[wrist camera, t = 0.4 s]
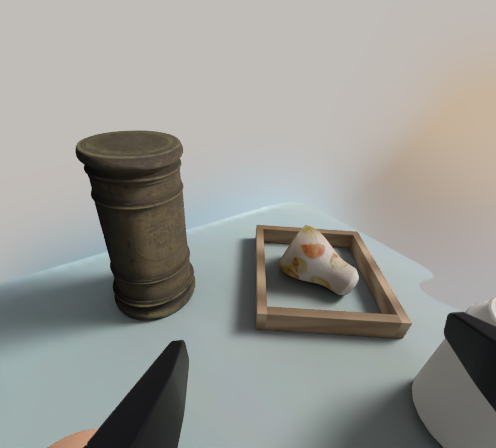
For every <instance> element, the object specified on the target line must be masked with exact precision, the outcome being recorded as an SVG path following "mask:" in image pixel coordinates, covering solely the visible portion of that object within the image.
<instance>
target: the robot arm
mask: <svg viewBox="0 0 496 448" xmlns="http://www.w3.org/2000/svg"><path fill="white" fill-rule="evenodd" d="M444 335H445V338H446V340H447V341H448V343H449V345H450V346H451V348H452V349H453V351H454V352H455V354H456V356H457V357H458V359H459V360H460V362H461V363H462V365H463V367H464V368H465V370H466V371H467V373H468V374H469V376H470V378H471V379H472V381H473V382H474V384H475V385H476V386H477V388H478V389H479V391H480V392H481V393H482V395H483V396H484V397H485V399H486V400H487V401H488V402H489V404H490V405H491V406H492V408H493V409H494V410H495V412H496V326H494V325H492V324H489V323H487V322H485V321H483V320H480V319H478V318H476V317H474V316H472V315H469V314H467V313H465V312H453V313H449V314H448V316H447V320H446V324H445V328H444ZM188 369H189V357H188V353H187V349H186V345H185V342H184V341H183V340H178V341H172V342H171V343H170V344H169V345H168V346H167V347H166V348H165V350H164V351H163V352H162V353H161V354H160V356H159V357H158V358H157V359H156V360H155V362H154V363H153V364H152V365H151V366H150V368H149V369H148V370H147V371H146V372H145V374H144V375H143V376H142V377H141V378H140V380H139V381H138V382H137V383H136V384H135V386H134V387H133V388H132V389H131V390H130V392H129V393H128V394H127V395H126V396H125V398H124V399H123V400H122V401H121V402H120V404H119V405H118V406H117V407H116V408H115V410H114V411H113V412H112V413H111V414H110V416H109V417H108V418H107V419H106V420H105V422H104V423H103V424H102V425H101V426H100V428H99V429H98V430H97V431H96V432H95V434H94V435H93V436H92V437H91V438H90V440H89V441H88V442H87V445H85V446H84V447H83V448H177V447H178V442H179V437H180V432H181V427H182V422H183V417H184V409H185V400H186V389H187V379H188Z"/></svg>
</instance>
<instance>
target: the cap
mask: <svg viewBox="0 0 496 448" xmlns="http://www.w3.org/2000/svg"><path fill="white" fill-rule="evenodd" d="M97 430H98V429H92V430H86V431H81V432H78V433H75V434H72V435H70V436H67V437H65V438H63V439H61V440H60V441H58V442H56V443H54V444H53V445H51V446H50V447H48V448H83V447H84V446H85V445H87V442H88V441H89V440H90V438H91V437H92V436H93V435H94V434H95V432H96V431H97Z"/></svg>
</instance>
